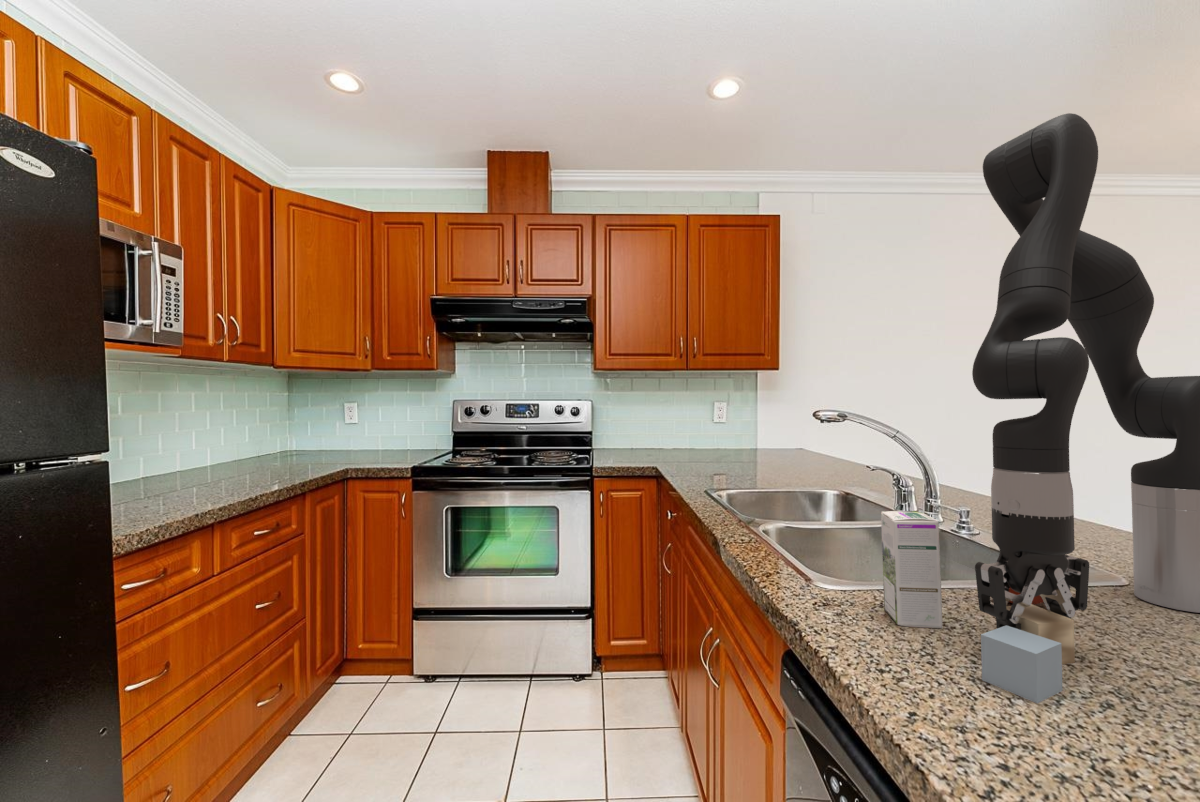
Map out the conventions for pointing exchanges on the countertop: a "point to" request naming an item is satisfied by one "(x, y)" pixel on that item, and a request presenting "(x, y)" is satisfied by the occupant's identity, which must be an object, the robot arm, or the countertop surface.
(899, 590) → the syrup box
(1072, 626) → the maple block
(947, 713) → the countertop surface
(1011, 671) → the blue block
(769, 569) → the countertop surface
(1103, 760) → the countertop surface
